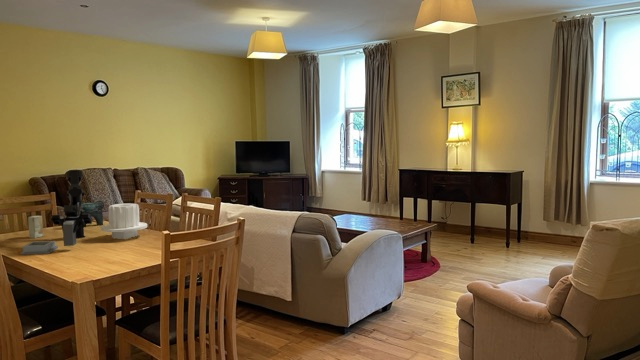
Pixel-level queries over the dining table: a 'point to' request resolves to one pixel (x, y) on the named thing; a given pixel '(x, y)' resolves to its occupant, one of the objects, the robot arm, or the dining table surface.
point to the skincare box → (35, 226)
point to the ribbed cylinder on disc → (123, 221)
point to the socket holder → (39, 248)
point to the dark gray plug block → (69, 233)
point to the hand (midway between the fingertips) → (68, 232)
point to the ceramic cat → (94, 210)
